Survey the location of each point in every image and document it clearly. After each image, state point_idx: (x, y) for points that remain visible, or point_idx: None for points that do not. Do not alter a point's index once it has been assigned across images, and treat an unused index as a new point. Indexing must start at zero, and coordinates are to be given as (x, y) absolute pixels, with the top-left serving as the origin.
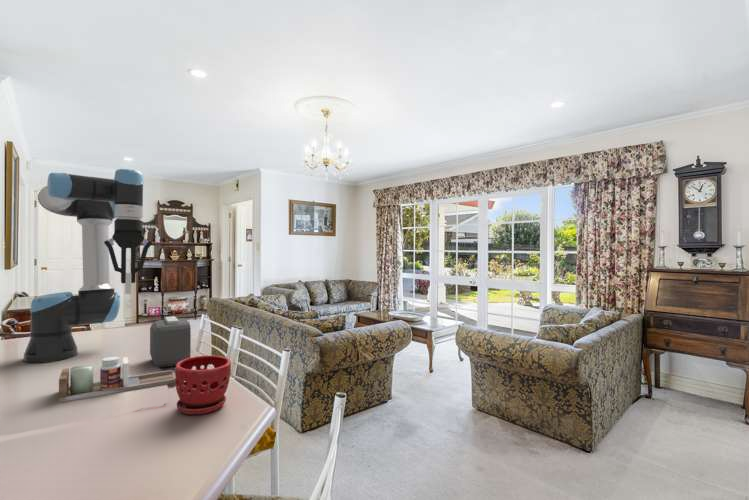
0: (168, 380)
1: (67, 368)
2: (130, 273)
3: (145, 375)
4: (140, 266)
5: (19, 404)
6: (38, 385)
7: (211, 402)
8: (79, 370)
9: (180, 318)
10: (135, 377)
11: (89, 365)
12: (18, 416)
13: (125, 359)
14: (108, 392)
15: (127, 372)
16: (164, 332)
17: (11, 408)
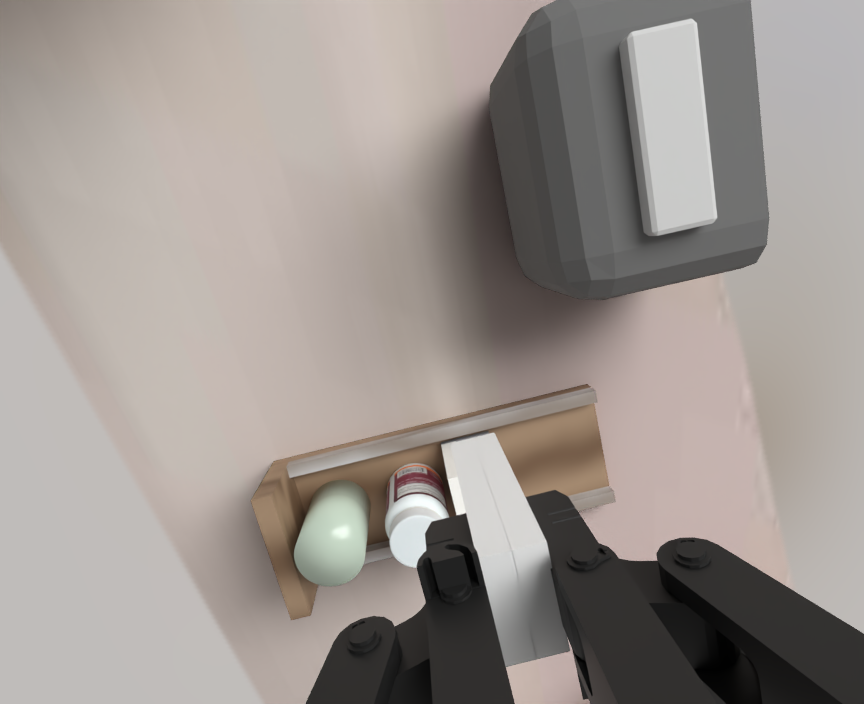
0: (592, 506)
1: (266, 499)
2: (559, 650)
3: (510, 423)
4: (737, 695)
5: (186, 514)
6: (150, 339)
7: None
8: (333, 585)
9: (720, 9)
10: (480, 434)
11: (348, 537)
12: (232, 603)
13: (464, 510)
14: None
15: None
16: (614, 295)
17: (181, 539)
